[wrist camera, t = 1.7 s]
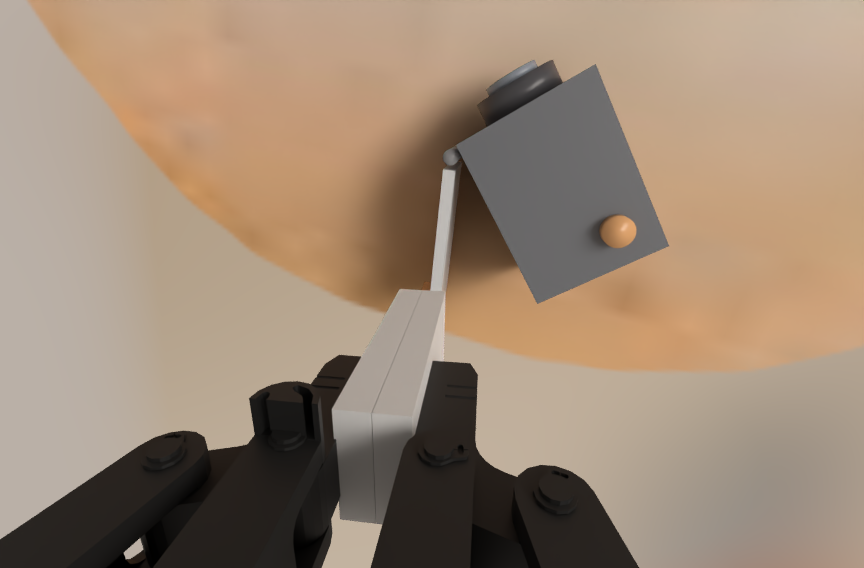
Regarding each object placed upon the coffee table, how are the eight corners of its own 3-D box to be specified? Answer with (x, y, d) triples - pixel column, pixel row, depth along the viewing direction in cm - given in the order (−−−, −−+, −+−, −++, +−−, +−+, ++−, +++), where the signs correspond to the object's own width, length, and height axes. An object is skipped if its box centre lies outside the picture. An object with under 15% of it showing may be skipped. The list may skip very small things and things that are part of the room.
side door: (442, 143, 35) (429, 146, 27) (465, 145, 35) (459, 150, 27) (428, 283, 39) (413, 321, 31) (448, 285, 39) (438, 325, 31)
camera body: (450, 116, 34) (437, 111, 25) (555, 53, 32) (583, 22, 23) (526, 264, 38) (538, 308, 29) (625, 218, 35) (674, 249, 26)
